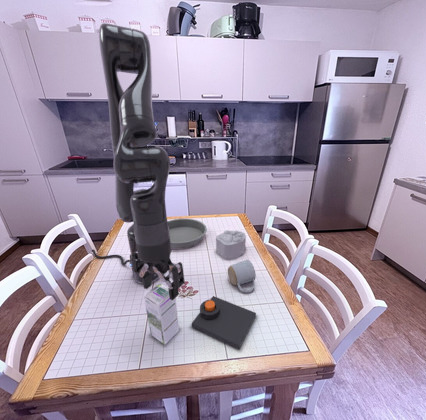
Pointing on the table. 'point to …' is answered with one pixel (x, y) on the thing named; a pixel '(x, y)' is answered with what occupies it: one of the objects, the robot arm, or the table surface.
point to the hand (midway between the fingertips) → (160, 292)
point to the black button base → (225, 322)
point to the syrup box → (161, 313)
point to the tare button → (209, 306)
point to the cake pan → (185, 233)
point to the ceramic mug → (242, 274)
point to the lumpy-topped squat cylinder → (230, 244)
